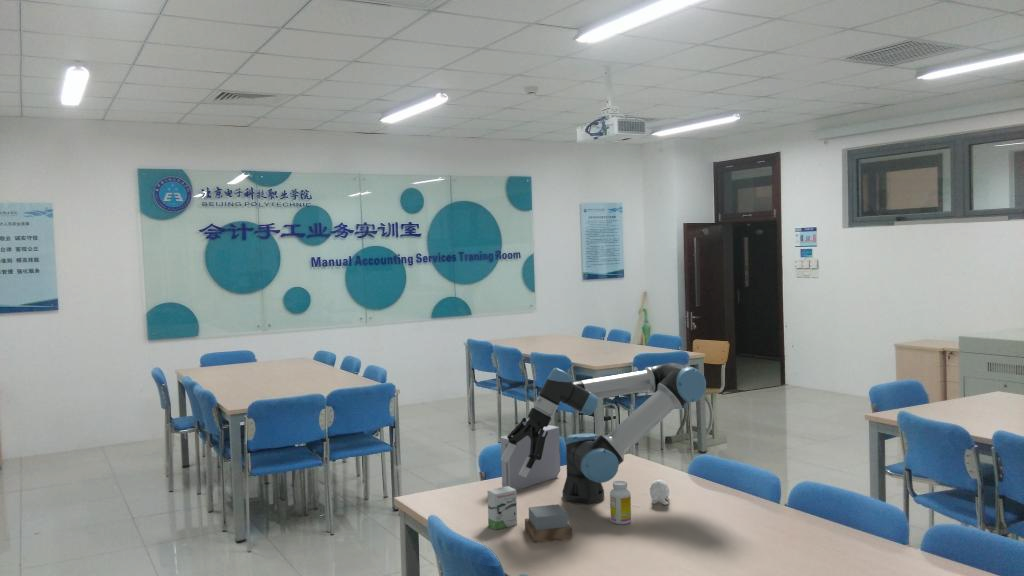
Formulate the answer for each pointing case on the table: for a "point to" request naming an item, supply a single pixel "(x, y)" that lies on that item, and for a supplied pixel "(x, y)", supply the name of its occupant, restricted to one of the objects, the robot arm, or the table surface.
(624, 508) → the supplement bottle
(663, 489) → the white octopus figurine
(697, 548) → the table surface
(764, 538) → the table surface
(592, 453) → the robot arm
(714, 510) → the table surface
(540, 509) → the slate-grey top block
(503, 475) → the game console
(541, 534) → the walnut base block
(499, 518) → the ink box
